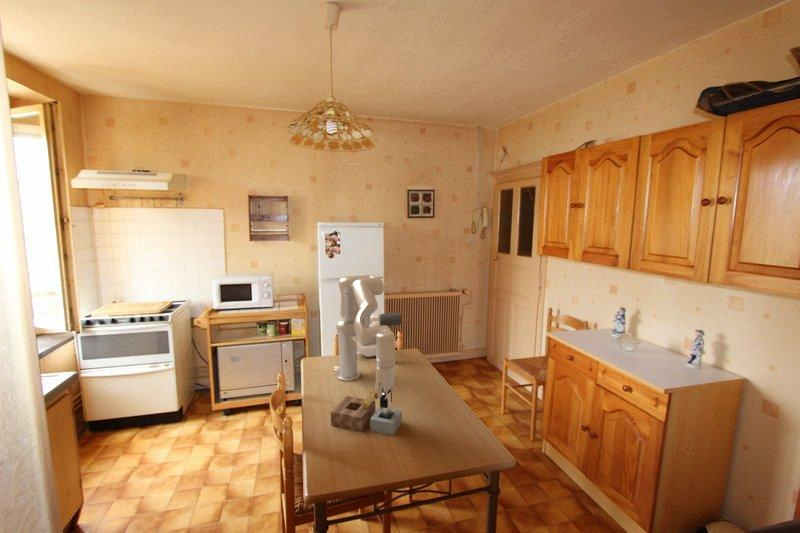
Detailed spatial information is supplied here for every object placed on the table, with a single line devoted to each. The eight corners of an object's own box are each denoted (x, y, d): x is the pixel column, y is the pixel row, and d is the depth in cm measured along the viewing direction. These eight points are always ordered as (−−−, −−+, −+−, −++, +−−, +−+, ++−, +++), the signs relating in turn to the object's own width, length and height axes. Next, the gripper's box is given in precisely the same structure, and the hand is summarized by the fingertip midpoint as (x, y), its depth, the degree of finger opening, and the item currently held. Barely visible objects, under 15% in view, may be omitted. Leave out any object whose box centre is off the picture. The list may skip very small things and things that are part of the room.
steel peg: (379, 422, 149) (379, 394, 147) (383, 417, 152) (383, 390, 151) (389, 424, 147) (388, 396, 146) (392, 419, 151) (392, 391, 149)
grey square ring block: (370, 430, 147) (370, 418, 146) (380, 417, 156) (379, 406, 156) (393, 435, 144) (393, 423, 143) (401, 421, 153) (401, 410, 152)
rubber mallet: (399, 359, 219) (399, 310, 215) (402, 364, 212) (401, 314, 208) (379, 361, 217) (378, 312, 213) (380, 366, 210) (380, 315, 205)
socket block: (331, 425, 151) (330, 411, 150) (347, 408, 164) (346, 395, 163) (361, 431, 146) (361, 417, 145) (375, 413, 159) (375, 401, 158)
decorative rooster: (379, 348, 238) (379, 311, 235) (387, 356, 223) (386, 317, 220) (341, 352, 230) (340, 314, 226) (346, 362, 215) (345, 321, 212)
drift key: (360, 407, 153) (360, 402, 152) (371, 396, 162) (371, 390, 162) (368, 409, 151) (368, 403, 151) (378, 397, 161) (378, 392, 161)
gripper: (384, 353, 155) (385, 393, 158) (368, 368, 140) (369, 413, 142) (401, 355, 153) (401, 396, 155) (386, 371, 137) (387, 416, 140)
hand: (386, 404), depth 149 cm, fingers closed on steel peg, 3 cm apart
